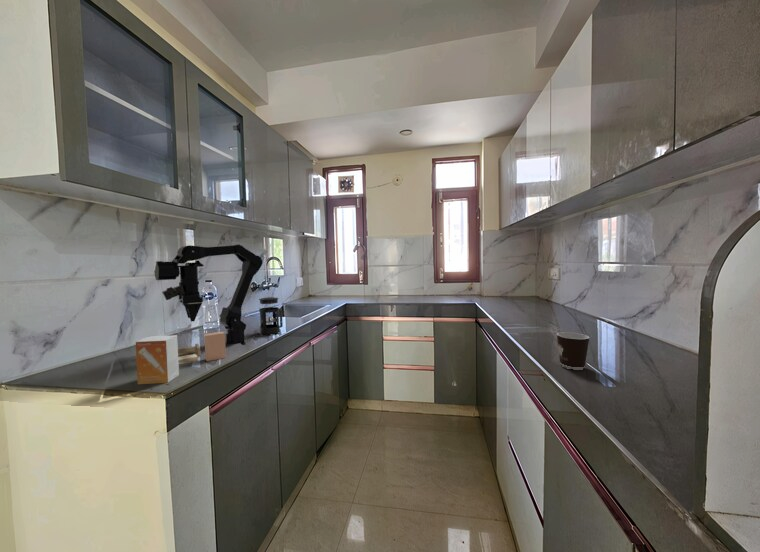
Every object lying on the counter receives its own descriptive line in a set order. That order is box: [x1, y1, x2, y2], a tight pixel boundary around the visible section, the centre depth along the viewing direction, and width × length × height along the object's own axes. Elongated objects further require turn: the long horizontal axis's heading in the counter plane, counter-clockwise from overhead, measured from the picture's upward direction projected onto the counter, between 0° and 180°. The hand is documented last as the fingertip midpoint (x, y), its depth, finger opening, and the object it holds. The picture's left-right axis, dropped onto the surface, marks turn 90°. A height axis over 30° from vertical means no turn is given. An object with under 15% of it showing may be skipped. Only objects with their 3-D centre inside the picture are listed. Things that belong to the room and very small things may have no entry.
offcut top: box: [178, 353, 199, 365], centre depth 105 cm, size 6×4×2 cm
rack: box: [178, 343, 202, 358], centre depth 111 cm, size 9×8×4 cm
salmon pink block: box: [203, 331, 227, 362], centre depth 108 cm, size 6×3×9 cm, turn 127°
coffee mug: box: [556, 331, 590, 367], centre depth 97 cm, size 12×9×10 cm
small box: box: [135, 334, 180, 386], centre depth 89 cm, size 8×6×13 cm
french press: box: [258, 285, 283, 336], centre depth 148 cm, size 12×9×23 cm
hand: (191, 319), depth 117 cm, fingers open, 9 cm apart
